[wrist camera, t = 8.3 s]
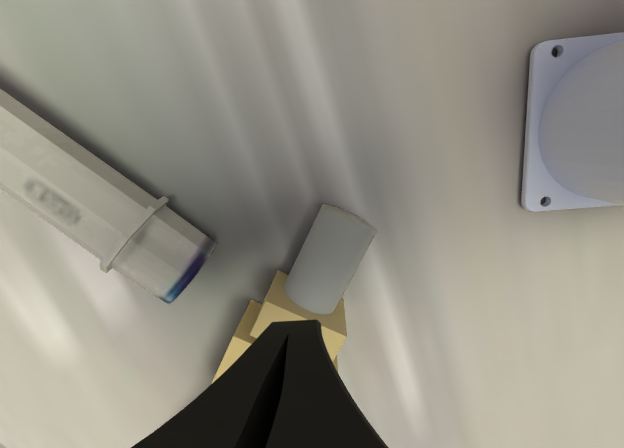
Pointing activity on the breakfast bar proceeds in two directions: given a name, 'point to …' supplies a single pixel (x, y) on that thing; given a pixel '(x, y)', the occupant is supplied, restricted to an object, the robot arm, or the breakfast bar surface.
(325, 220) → the valve pipe
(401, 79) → the breakfast bar surface
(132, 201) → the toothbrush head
